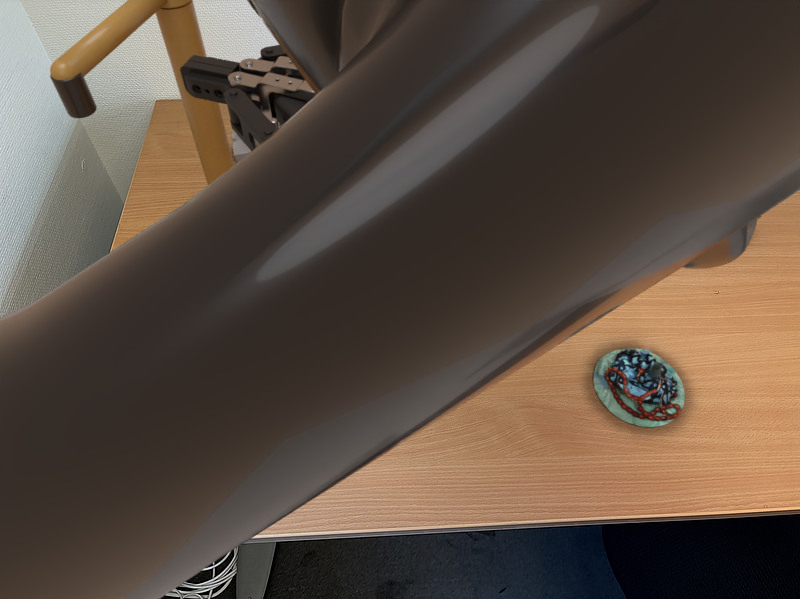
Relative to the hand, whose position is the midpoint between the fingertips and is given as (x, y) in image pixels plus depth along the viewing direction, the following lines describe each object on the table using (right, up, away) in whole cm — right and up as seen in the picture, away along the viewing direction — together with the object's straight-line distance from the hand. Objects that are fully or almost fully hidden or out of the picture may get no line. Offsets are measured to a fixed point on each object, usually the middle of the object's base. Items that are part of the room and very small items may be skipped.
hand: (188, 74), depth 42 cm
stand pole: (-5, -7, +30) cm, 32 cm away
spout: (-6, +4, +6) cm, 10 cm away
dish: (+38, -24, +20) cm, 50 cm away
